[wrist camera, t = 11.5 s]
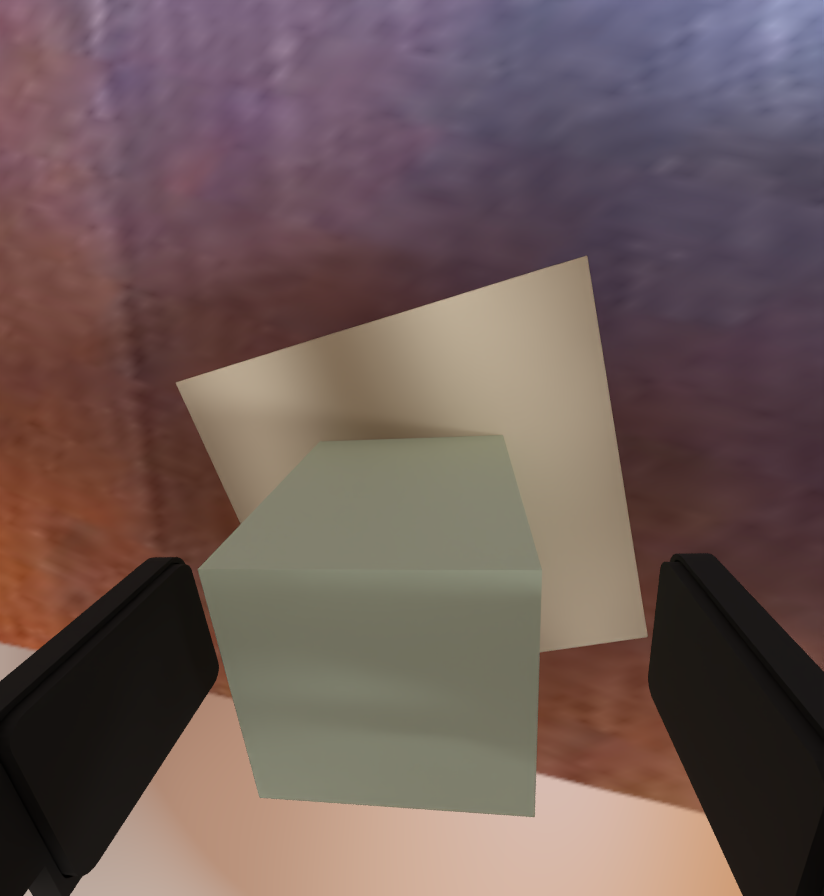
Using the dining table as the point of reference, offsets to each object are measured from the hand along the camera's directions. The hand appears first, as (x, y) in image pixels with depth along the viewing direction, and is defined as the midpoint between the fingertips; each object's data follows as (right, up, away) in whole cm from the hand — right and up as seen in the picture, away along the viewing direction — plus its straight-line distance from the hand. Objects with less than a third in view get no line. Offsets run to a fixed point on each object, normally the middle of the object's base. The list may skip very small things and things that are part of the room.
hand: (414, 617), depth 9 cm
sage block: (0, +1, +4) cm, 4 cm away
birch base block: (+1, +3, +10) cm, 10 cm away
